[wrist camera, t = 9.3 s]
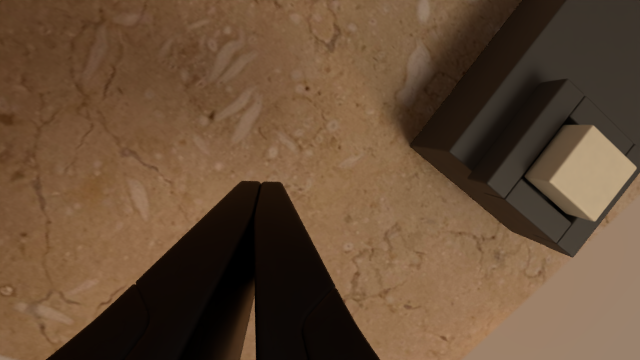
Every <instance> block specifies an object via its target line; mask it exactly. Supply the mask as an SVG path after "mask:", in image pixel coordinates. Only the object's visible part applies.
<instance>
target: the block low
mask: <svg viewBox="0 0 640 360" xmlns="http://www.w3.org/2000/svg"><path fill="white" fill-rule="evenodd" d="M563 125H593V126H595V127H596V128H597V129H598V130H599V131H600V132H601V133H602V134H603V135H604V136H605V137H606V138H607V139H608V140H609V141H610V142H611V143H612V144H613V145H614V146H615V147H616V148H617V149H618V150H620V151H621V152H622V153H623V154H624V155H625V156H626V157H627V158H628V159H629V160H630V161H631V162H632V163H633V164H634V165H635V166H636V167H637V169H636V170H635V171H634V173H633V174H632V175H631V176H630V178H629V179H628V180H627V182H626V183H625V184H624V185H623V187H622V188H621V189H620V190H619V192H618V193H617V194H616V196H615V197H614V198H613V199H612V201H611V202H610V203H609V205H608V206H607V207H606V208H605V210H604V211H603V212H602V213H601V215H600V216H599V217H598V219H597V220H596V221H590V220H587V219H583V218H580V217H576V216H573V215H569V214H566V213H565V212H564V211H562V210H561V209H560V208H559V207H558V206H557V205H556V204H555V203H553V202H552V201H551V200H550V199H549V198H548V197H547V196H546V195H544V194H543V193H542V192H541V191H540V190H539V189H538V188H536V187H535V186H534V185H533V184H532V183H531V182H530V181H529V180H527V179H526V178H525V177H524V175H525V174H526V172H527V171H528V170H529V169H530V167H531V166H532V165H533V163H534V162H535V161H536V160H537V158H538V157H539V156H540V154H541V153H542V152H543V151H544V149H545V148H546V147H547V145H548V144H549V143H550V142H551V140H552V139H553V138H554V137H555V135H556V134H557V133H558V131H559V130H560V129H561V128H562V126H563ZM410 146H411V148H413V149H414V150H415V151H416V152H417V153H419V154H420V155H421V156H422V157H423V158H425V159H426V160H427V161H428V162H429V163H431V164H432V165H433V166H434V167H435V168H437V169H438V170H439V171H440V172H441V173H443V174H444V175H445V176H446V177H447V178H449V179H450V180H451V181H452V182H453V183H455V184H456V185H457V186H458V187H459V188H460V189H462V190H463V191H464V192H465V193H466V194H468V195H469V196H470V197H471V198H472V199H474V200H475V201H476V202H477V203H478V204H480V205H481V206H482V207H483V208H484V209H486V210H487V211H488V212H489V213H490V214H492V215H493V216H494V217H495V218H496V219H498V220H499V221H500V222H501V223H502V224H503V225H505V226H506V227H507V228H508V229H509V230H511V231H512V232H514V233H517V234H519V235H521V236H524V237H526V238H529V239H531V240H533V241H536V242H538V243H540V244H543V245H545V246H547V247H549V248H551V249H553V250H556V251H558V252H561V253H563V254H565V255H568V256H570V257H574V256H575V255H576V253H577V252H578V251H579V249H580V248H581V247H582V246H583V244H584V243H585V242H586V241H587V239H588V238H589V237H590V235H591V234H592V233H593V232H594V230H595V229H596V228H597V226H598V225H599V224H600V223H601V221H602V220H603V219H604V218H605V216H606V215H607V214H608V212H609V211H610V210H611V209H612V207H613V206H614V205H615V203H616V202H617V201H618V200H619V198H620V197H621V196H622V195H623V193H624V192H625V191H626V189H627V188H628V187H629V186H630V184H631V183H632V182H633V180H634V179H635V178H636V177H637V175H638V174H639V173H640V0H522V1H521V3H520V4H519V5H518V7H517V8H516V9H515V10H514V12H513V13H512V14H511V16H510V17H509V18H508V19H507V21H506V22H505V23H504V25H503V26H502V27H501V28H500V30H499V31H498V32H497V34H496V35H495V36H494V37H493V39H492V40H491V41H490V43H489V44H488V45H487V47H486V48H485V49H484V50H483V52H482V53H481V54H480V56H479V57H478V58H477V59H476V61H475V62H474V63H473V65H472V66H471V67H470V68H469V70H468V71H467V72H466V74H465V75H464V76H463V78H462V79H461V80H460V81H459V83H458V84H457V85H456V87H455V88H454V89H453V90H452V92H451V93H450V94H449V96H448V97H447V98H446V99H445V101H444V102H443V103H442V105H441V106H440V107H439V108H438V110H437V111H436V112H435V114H434V115H433V116H432V118H431V119H430V120H429V121H428V123H427V124H426V125H425V127H424V128H423V129H422V130H421V132H420V133H419V134H418V136H417V137H416V138H415V139H414V141H413V142H412V143H411V145H410Z"/></svg>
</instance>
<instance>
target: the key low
mask: <svg viewBox="0 0 640 360" xmlns="http://www.w3.org/2000/svg"><path fill="white" fill-rule="evenodd" d="M636 169H637V167H636V166H635V165H634V164H633V163H632V162H631V161H630V160H629V159H628V158H627V157H626V156H625V155H624V154H623V153H622V152H621V151H620V150H618V149H617V148H616V147H615V146H614V145H613V144H612V143H611V142H610V141H609V140H608V139H607V138H606V137H605V136H604V135H603V134H602V133H601V132H600V131H599V130H598V129H597V128H596V127H595V126H593V125H563V126H562V128H561V129H560V130H559V131H558V133H557V134H556V135H555V137H554V138H553V139H552V140H551V142H550V143H549V144H548V145H547V147H546V148H545V149H544V151H543V152H542V153H541V154H540V156H539V157H538V158H537V160H536V161H535V162H534V163H533V165H532V166H531V167H530V169H529V170H528V171H527V172H526V174H525V175H524V177H525V178H526V179H527V180H529V181H530V182H531V183H532V184H533V185H534V186H535V187H536V188H538V189H539V190H540V191H541V192H542V193H543V194H544V195H546V196H547V197H548V198H549V199H550V200H551V201H552V202H553V203H555V204H556V205H557V206H558V207H559V208H560V209H561V210H562V211H564V212H565V213H566V214H569V215H573V216H576V217H580V218H583V219H587V220H590V221H596V220H597V219H598V217H599V216H600V215H601V213H602V212H603V211H604V210H605V208H606V207H607V206H608V205H609V203H610V202H611V201H612V199H613V198H614V197H615V196H616V194H617V193H618V192H619V190H620V189H621V188H622V187H623V185H624V184H625V183H626V182H627V180H628V179H629V178H630V176H631V175H632V174H633V173H634V171H635V170H636Z"/></svg>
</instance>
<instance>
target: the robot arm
mask: <svg viewBox="0 0 640 360" xmlns="http://www.w3.org/2000/svg"><path fill="white" fill-rule="evenodd" d="M254 295H255V333H256V360H380V359H379V357H378V356H377V355H376V353H375V352H374V350H373V349H372V347H371V346H370V344H369V343H368V341H367V340H366V338H365V337H364V335H363V334H362V332H361V331H360V329H359V328H358V326H357V325H356V323H355V321H354V319H353V317H352V316H351V314H350V312H349V310H348V309H347V307H346V305H345V303H344V301H343V300H342V298H341V296H340V294H339V292H338V290H337V289H336V288H335V285H334V283H333V281H332V279H331V277H330V275H329V273H328V271H327V269H326V267H325V265H324V263H323V261H322V259H321V258H320V256H319V254H318V252H317V250H316V248H315V246H314V244H313V242H312V240H311V238H310V236H309V234H308V232H307V231H306V229H305V227H304V225H303V223H302V221H301V219H300V217H299V215H298V213H297V211H296V209H295V207H294V205H293V203H292V202H291V200H290V198H289V196H288V194H287V192H286V190H285V188H284V186H283V184H282V183H281V182H263V183H262V184H261V183H260V182H259V181H241V182H240V183H239V184H237V185H236V186H235V187H234V188H233V189H232V190H231V191H230V192H229V193H228V194H227V195H226V196H225V197H224V198H223V199H222V200H221V201H220V202H219V203H218V204H217V205H216V206H214V207H213V208H212V209H211V210H210V211H209V212H208V213H207V214H206V215H205V216H204V217H203V218H202V219H201V220H200V221H199V222H198V223H197V224H196V225H195V226H194V227H192V228H191V229H190V230H189V231H188V232H187V233H186V234H185V235H184V236H183V237H182V238H181V239H180V240H179V241H178V242H177V243H176V244H175V245H174V246H173V247H172V248H171V249H169V250H168V251H167V252H166V253H165V254H164V255H163V256H162V257H161V258H160V259H159V260H158V261H157V262H156V263H155V264H154V265H153V266H152V267H151V268H150V269H149V270H147V271H146V272H145V273H144V274H143V275H142V276H141V277H140V278H139V279H138V280H137V281H136V285H135V284H133V285H132V286H131V287H129V288H128V289H127V290H126V291H125V292H124V293H123V294H122V295H121V296H120V297H119V298H118V299H117V300H116V301H115V302H114V303H112V304H111V305H110V306H109V307H108V308H107V309H106V310H105V311H104V312H103V313H101V314H100V315H99V316H98V317H97V318H96V319H95V320H94V321H93V322H91V323H90V324H89V325H88V326H86V327H85V328H84V329H83V330H82V331H80V332H79V333H78V334H77V335H76V336H74V337H73V338H72V339H71V340H70V341H68V342H67V343H66V344H65V345H64V346H62V347H61V348H60V349H59V350H57V351H56V352H55V353H54V354H52V355H51V356H50V357H48V358H47V359H46V360H240V357H241V353H242V349H243V344H244V340H245V335H246V331H247V326H248V322H249V318H250V313H251V309H252V304H253V300H254Z"/></svg>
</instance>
